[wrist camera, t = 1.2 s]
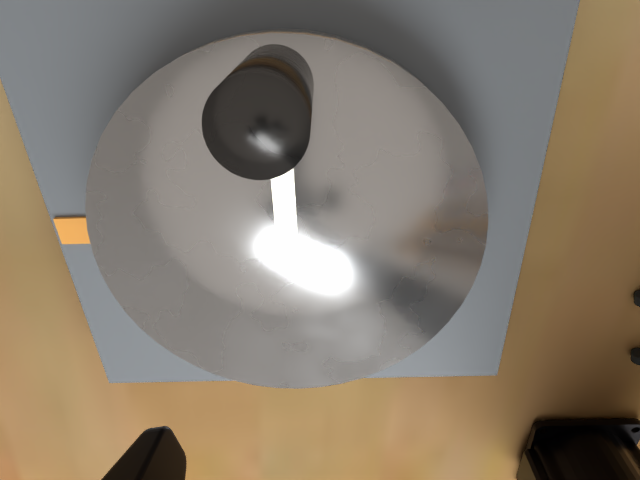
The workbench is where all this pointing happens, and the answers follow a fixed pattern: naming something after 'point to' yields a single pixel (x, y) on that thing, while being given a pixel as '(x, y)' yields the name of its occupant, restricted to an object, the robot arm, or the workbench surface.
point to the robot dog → (637, 354)
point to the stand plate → (309, 14)
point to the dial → (286, 209)
